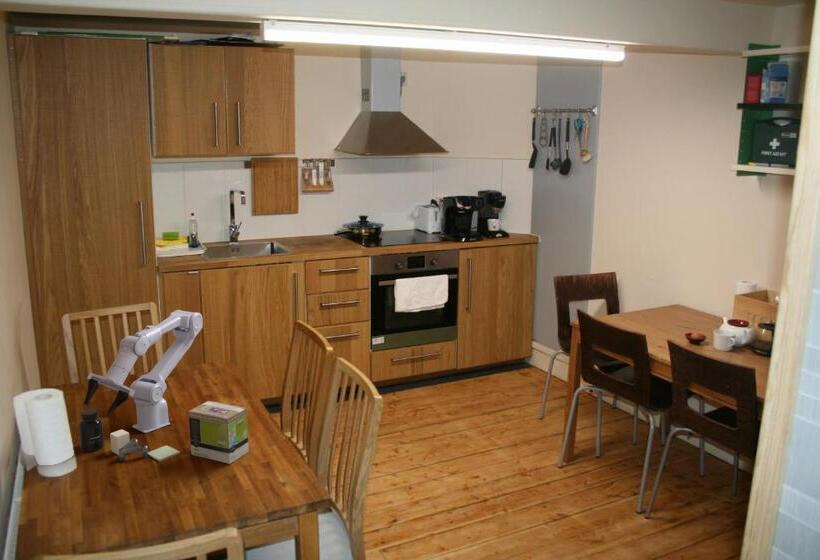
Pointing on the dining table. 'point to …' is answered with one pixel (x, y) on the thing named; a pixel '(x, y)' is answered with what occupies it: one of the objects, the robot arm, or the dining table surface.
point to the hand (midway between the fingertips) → (97, 408)
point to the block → (119, 440)
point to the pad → (163, 453)
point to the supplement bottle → (91, 431)
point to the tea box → (218, 431)
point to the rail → (133, 449)
